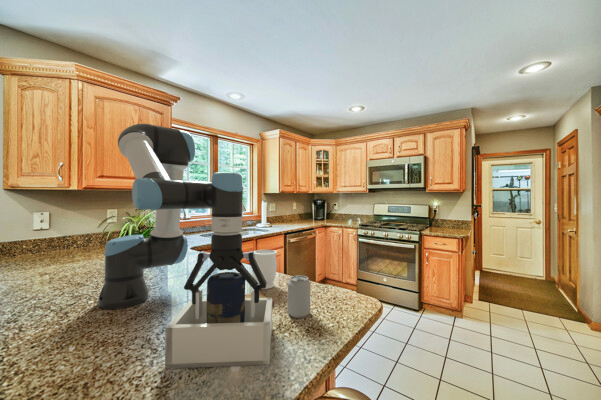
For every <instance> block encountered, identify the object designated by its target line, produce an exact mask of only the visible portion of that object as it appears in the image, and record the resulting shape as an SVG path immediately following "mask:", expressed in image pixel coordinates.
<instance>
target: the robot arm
mask: <svg viewBox="0 0 601 400" xmlns="http://www.w3.org/2000/svg"><path fill="white" fill-rule="evenodd" d="M117 147H118V149H119V152H120V153H121V154H122V156H124V158H126V159H127V161H128V164H129V166H130V168H131V170H132V172H133V174H134V176H135V179H134V181H133V183H132V188H131V199H132V204H133V206H134V207H135V208H136V209H138V210H148V211H149V210H151V211H155V223H154V224H155V225H154V229H153V230H151V231H150V234H149V237H146V238H145V236H144V235H143V234H131V235H124V236H120V237H116V238H112V239H110V240H108V241H107V242H106V243H105V245H104V254H103V256H104V282H103V285H102V289H101V290H100V293H99V296H98V300H97V306H98V308H99V309H103V310H118V309H123V308H129V307H132V306H135V305H138V304H141V303H143V302H145V301H146V300H148V299H149V296H150V293H149V291H150V290H149V288H148V285H147V283H146V280H145V278H144V270H146V269H147V270H148V269H152V268H159V267H160V268H161V267H165V266H173V265H177V264H180V263H182V262H183V261H184V260H185V258H186V256H187V253H188V249H189V248H188V247H189V245H188V241H189V240H188V237H187V236H186V235H184V231H182V230H181V228H180V223H181V210H188V209H189V210H198V209H199V210H200V209H203V210H204V209H208V210H209V209H210V210H211V232H212V234H211V236H210V237H211V238H210V239H211V243H210V244H211V245H210V246H211V249H210V252H206V251H205V250H202V251H200V252H199V253H198V254H197V259H196V263H195V265H194V267H193V269H192V271H191V273H190V275H188V276H189V277H188V279H187V280H186V282H185V284H184V286H183V289H184V290H186V291H188V290H189V291H190V292H191V299H192V304H196V319H199V318H200V316H201V315H202V299H203V289H202V288H201V286H202V285H203V284H204V283H205V282H206V280H208V279H209V277H210V276H212V273H214V271H215V270H216V269H217V270H219V271H226V270H227V271H233V270H234V269H235V270H236V271H237V273H240V274H241V275H242V276H243V277H244V279H245V282H247V284H248V285H249V286H250V287H251V291H250V294H251V317H254V315H255V303H258V302H259V293H260V291H261V290H265V289H264V288H266V280H265V278H264V276H263V274H262V272H261V270H260V268H259V266H258V264H257V262H256V260H255V256H254V251H255V250H250V251H248V252H247V251H246V252H244V251H243V234H242V233H241V232H242V231H243V201H244V200H243V199H244V198H243V193H244V191H243V190H244V187H243V176H242V174H240V173H238V172H231V171H228V172H227V171H218V172H217V171H216V172H213V174H212V176H211V181H198V180H197V181H196V180H195V181H194V180H184V171H185V169H187V168H189V163H191V162H193V161H194V159H195V156H196V147H195V141H194V138H193V136H192V135H191V133H190V132H188V131H185V130H181V129H177V128H171V127H166V126H159V125H154V124H151V123H150V124H149V123H135V124H132V125H130V126H128V127H126V128H125V129H123V130H122V131H121V133H120V134H119V135H118V139H117ZM208 258H209V259H210V261H211V262H212V265H211V266H210V267H209V268H208V269H207V270H206V272H205V273H204V274H203V275H202V276H201V278H200V279H198V280H197V282H196V283H195V284H194V282H195V281H196V279H197V276H198V274H199V272H200V270H201V269H202V267H203V265H204V263H205V262H206V261H207V260H208ZM243 258H245V260H246V261H247V262H249V265H250V267H251V269H253V270H252V272H253V271H254V273H255V275H256V277H257V279H258V281H259V283H258V282H257V281H256V280H255V279H254V277H253V274H251V273H250V272H249V270H248V269H247V268H246V267H245V265H244V264H243V263H242V262H241V261H242V260H243ZM262 288H263V289H262Z"/></svg>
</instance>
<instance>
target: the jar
mask: <svg viewBox="0 0 601 400" xmlns="http://www.w3.org/2000/svg"><path fill="white" fill-rule="evenodd" d="M253 251H254V256H255V260H256V262H257V264H258V266H259V268H260V270H261V272H262V274H263V276H264V278H265V280H266V288H264V289H263V288H262V289H261V290H268V289H271V288H274V287H275V283H274V282H275V279H276V275H277V268H278V260H277V254H278V251H277V250H274V249H258V250H253ZM251 269H252V268H251ZM252 276H253V278H254V279H255V280H256V281H257V282H258V283H259V281H258V279H257V277H256V275H255V273H254V271H253V269H252Z"/></svg>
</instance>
